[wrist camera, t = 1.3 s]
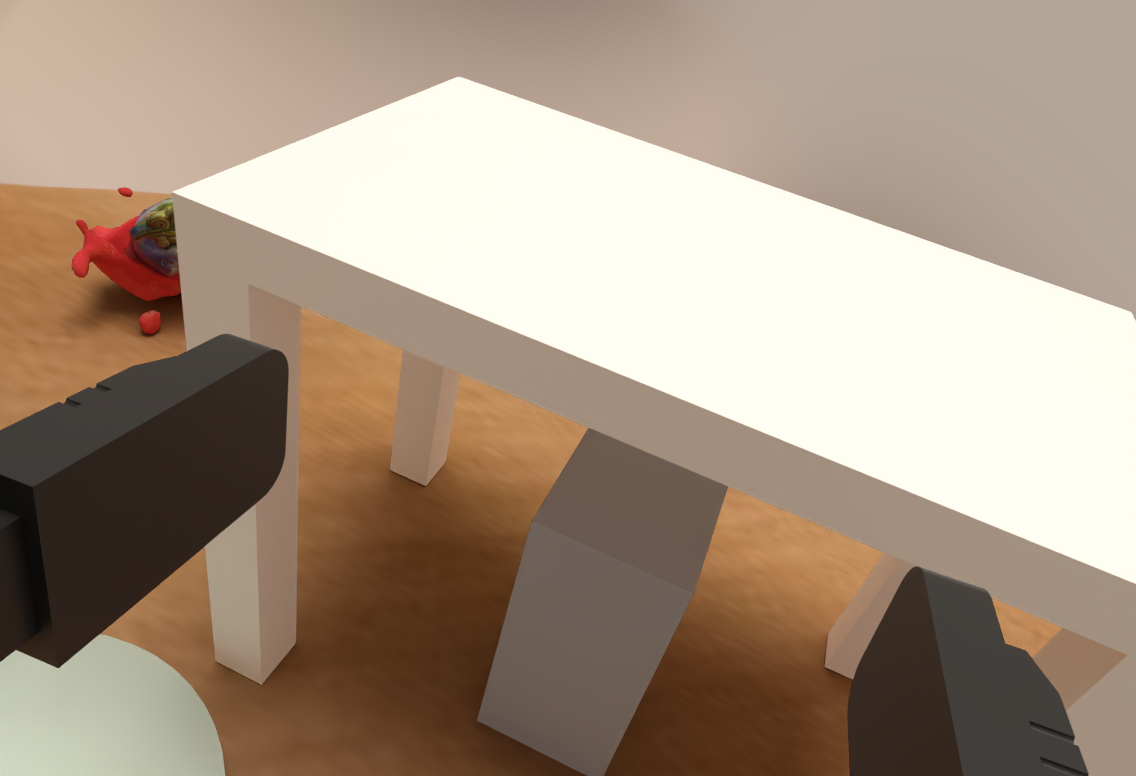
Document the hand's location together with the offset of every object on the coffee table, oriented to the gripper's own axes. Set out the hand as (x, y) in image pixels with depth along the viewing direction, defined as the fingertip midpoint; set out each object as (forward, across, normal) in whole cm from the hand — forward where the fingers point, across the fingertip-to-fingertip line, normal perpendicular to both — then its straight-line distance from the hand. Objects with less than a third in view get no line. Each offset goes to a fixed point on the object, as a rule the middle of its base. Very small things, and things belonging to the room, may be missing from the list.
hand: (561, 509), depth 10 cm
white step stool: (+16, 0, +18) cm, 24 cm away
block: (+14, 0, +19) cm, 23 cm away
